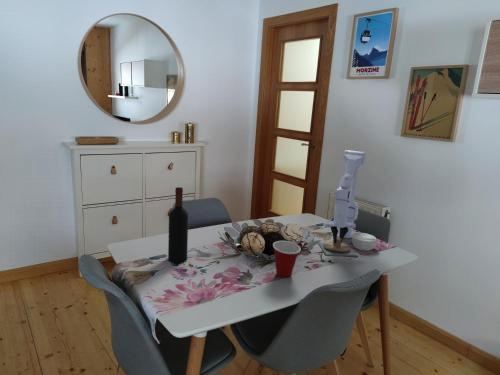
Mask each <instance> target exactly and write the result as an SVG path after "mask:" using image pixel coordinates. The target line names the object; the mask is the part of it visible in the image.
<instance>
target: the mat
mask: <svg viewBox="0 0 500 375" xmlns="http://www.w3.org/2000/svg"><path fill="white" fill-rule="evenodd" d="M324 243H325V242H317V244H318V246H319V248H321V250H322V251H323V253H324V254H325V256H327V257H328V256H330V257H331V256H333V257H334V256H335V257H339V256H340V257H357V254H356V252H354V250H353V249H352V248H351V247H350V250H349V251H347V252H335V251H330V250H328V249H326V248H324V246H323V245H324ZM342 243H343V244H346V245H348V244H347V242H342Z"/></svg>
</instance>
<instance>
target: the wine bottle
mask: <svg viewBox="0 0 500 375" xmlns="http://www.w3.org/2000/svg"><path fill="white" fill-rule="evenodd" d="M174 192H175V194H174V195H175V198H174V199H175V200H174V201H175V203H174V204H175V205H174V208H172V209H171V210H170V212H169V214H168V249H167V250H168V253H167V254H168V258H167V260H168V261H169V263H171V264H172V263H173V264H183V263H186V262H187V260H188V238H189V213H188V211H187V210H186V208H184V207H183V195H184V188H183V187H180V186H177V187H175V191H174Z"/></svg>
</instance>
